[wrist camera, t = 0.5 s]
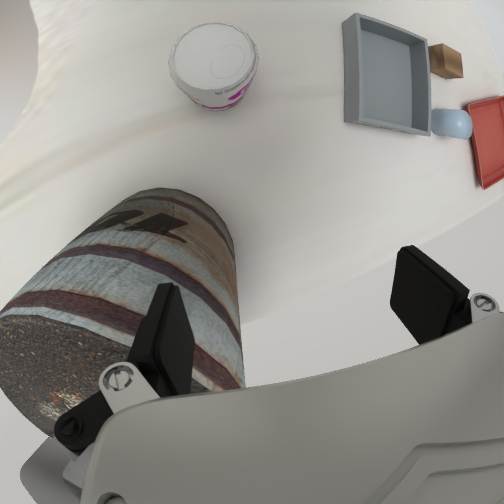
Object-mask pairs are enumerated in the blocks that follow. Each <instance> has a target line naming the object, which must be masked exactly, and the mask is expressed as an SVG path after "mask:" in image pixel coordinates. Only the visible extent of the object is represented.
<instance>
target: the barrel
mask: <svg viewBox="0 0 504 504" xmlns="http://www.w3.org/2000/svg"><path fill="white" fill-rule="evenodd" d="M169 282H172V283H173V284H174V285H178V286H179V289H180V292H181V296H182V299H183V303H184V306H185V309H186V312H187V316H188V319H189V322H190V325H191V328H192V331H193V334H194V338H195V349H194V359H193V369H192V380H191V392H190V394H196V393H205V392H215V391H224V390H233V389H241V388H246V386H245V376H244V365H243V354H242V342H241V330H240V318H239V306H238V293H237V280H236V267H235V255H234V247H233V240H232V238H231V236H230V233H229V231H228V229H227V226H226V224H225V223H224V221H223V220H222V219H221V218H220V216H219V215H218V214H217V213H216V211H215V210H214V209H213V208H212V207H210V206H209V205H208V204H206V203H205V202H204V201H202V200H201V199H199V198H198V197H196V196H194V195H191V194H189V193H186V192H183V191H181V190H177V189H167V188H155V189H149V190H144V191H140V192H138V193H136V194H134V195H132V196H130V197H128V198H126V199H125V200H123V201H122V202H121V203H119V204H118V205H116V206H115V207H114V208H112V209H111V210H110V211H108V212H107V213H106V214H105V215H103V216H102V217H101V218H99V219H98V220H97V221H96V222H94V223H93V224H92V225H91V226H89V227H88V228H87V229H86V230H84V231H83V232H82V233H81V234H80V235H78V236H77V237H76V238H75V239H74V240H72V241H71V242H70V243H69V244H68V245H67V246H66V247H64V248H63V249H62V250H61V251H60V252H59V253H58V254H57V255H55V256H54V257H53V258H52V259H51V260H50V261H49V262H48V263H47V264H46V265H45V266H44V267H43V268H41V269H40V270H39V271H38V272H37V273H36V274H35V275H34V276H33V277H32V278H31V279H30V280H29V281H28V282H27V283H26V284H25V285H24V286H23V287H22V288H21V289H20V291H19V292H18V293H17V294H16V295H15V296H14V297H13V298H12V299H11V300H10V301H9V302H8V303H7V305H6V306H5V307H4V308H3V309H2V310H1V311H0V388H1V389H2V390H3V392H4V393H5V395H6V396H7V397H8V399H9V400H10V401H11V402H12V403H13V405H14V406H15V407H16V408H17V409H18V410H19V411H20V412H21V413H22V414H23V415H24V416H25V417H26V418H27V419H28V420H29V421H31V422H32V423H33V424H34V425H35V426H36V427H38V428H39V429H40V430H41V431H42V432H44V433H45V434H47V435H48V436H50V437H51V438H53V437H54V436H55V434H54V426H55V423H56V421H57V419H58V418H59V417H60V416H61V415H62V414H63V413H65V412H67V411H68V410H70V409H71V408H73V407H75V406H76V405H78V404H79V403H81V402H82V401H84V400H86V399H87V398H89V397H90V396H92V395H93V394H95V393H96V392H98V391H100V390H101V389H100V386H99V378H100V376H101V374H102V372H103V371H104V370H105V369H106V368H108V367H109V366H110V365H113V364H115V363H119V362H126V361H127V358H128V355H129V352H130V350H131V347H132V344H133V341H134V338H135V335H136V333H137V330H138V327H139V324H140V322H141V320H142V318H144V317H146V315H147V312H148V309H149V306H150V304H151V301H152V299H153V296H154V293H155V291H156V288H157V286H158V284H161V283H169Z"/></svg>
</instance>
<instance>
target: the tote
mask: <svg viewBox="0 0 504 504" xmlns="http://www.w3.org/2000/svg"><path fill="white" fill-rule="evenodd" d="M342 29H343V46H344V85H345V96H344V121H345V122H352V123H358V124H364V125H370V126H376V127H381V128H386V129H391V130H396V131H400V132H405V133H409V134H414V135H422V136H430V133H431V79H430V64H429V53H428V44H427V39H425V38H423V37H421V36H419V35H416V34H414V33H412V32H409V31H407V30H405V29H402V28H400V27H397V26H394V25H392V24H389V23H386V22H383V21H380V20H377V19H374V18H371V17H368V16H365V15H361V14H358V13H354V14H353V15H352V16H350V17H349V18H348V19H347V20H345V21H344V22H343V23H342Z"/></svg>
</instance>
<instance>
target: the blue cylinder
mask: <svg viewBox="0 0 504 504" xmlns="http://www.w3.org/2000/svg"><path fill="white" fill-rule="evenodd" d="M431 130H432V131H433V133H435V134H436V135H439V136H446V137H453V138H459V139H464V140H467V139H469V138H470V136H471V134H472V130H473V126H472V120H471V118H470V116H469V114H468V113H467V112H466V111H464V110H454V109H433V110H432V111H431Z"/></svg>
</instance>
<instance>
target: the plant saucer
mask: <svg viewBox="0 0 504 504" xmlns="http://www.w3.org/2000/svg"><path fill="white" fill-rule="evenodd" d="M466 112H467V113H468V114H469V116H470V118H471V120H472V126H473V130H472V134H471V139H472V145H473V150H474V156H475V163H476V170H477V176H478V179H479V182H480V184H481V187H482V189H483V190H485V189H487V188H488V187H490V186H492V185H493V184H495V183H497V182H498V181H500V180H501V179H503V178H504V96H499V97H494V98H490V99H486V100H482V101H477V102H473V103H469V104H468V106H467V108H466Z"/></svg>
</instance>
